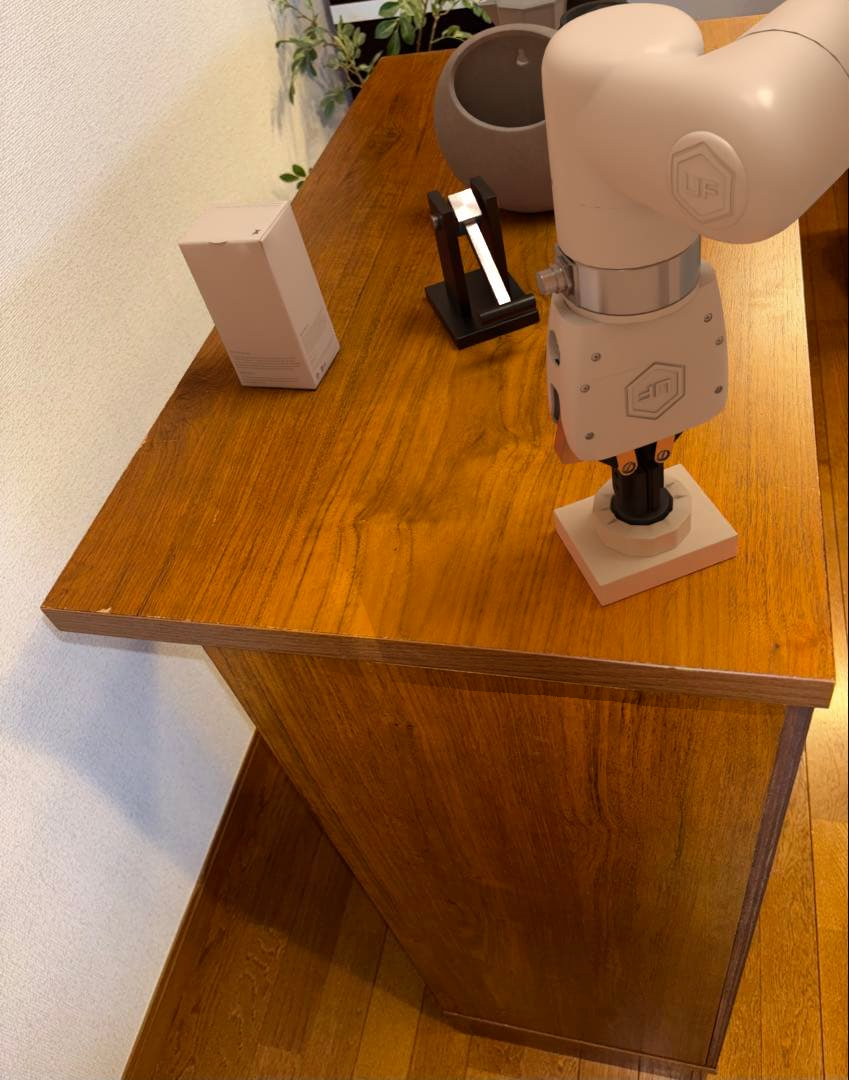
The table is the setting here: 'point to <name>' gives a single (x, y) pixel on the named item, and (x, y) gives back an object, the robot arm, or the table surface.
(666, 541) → the block
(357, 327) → the table surface
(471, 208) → the lever
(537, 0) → the coffee maker
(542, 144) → the planter
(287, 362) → the cosmetic box
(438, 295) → the bracket
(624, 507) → the button
